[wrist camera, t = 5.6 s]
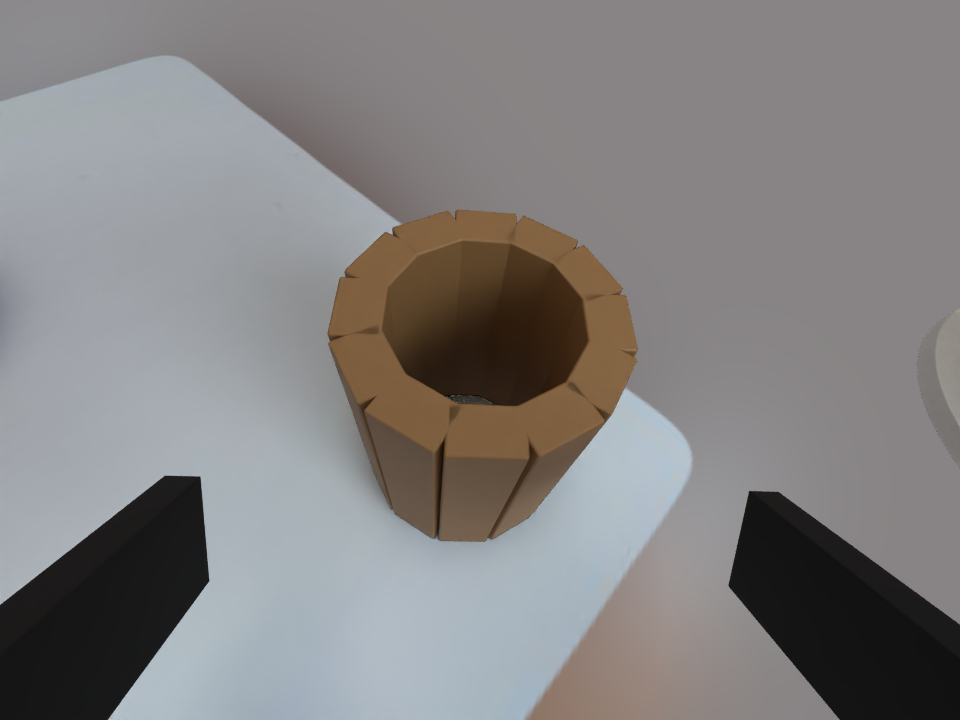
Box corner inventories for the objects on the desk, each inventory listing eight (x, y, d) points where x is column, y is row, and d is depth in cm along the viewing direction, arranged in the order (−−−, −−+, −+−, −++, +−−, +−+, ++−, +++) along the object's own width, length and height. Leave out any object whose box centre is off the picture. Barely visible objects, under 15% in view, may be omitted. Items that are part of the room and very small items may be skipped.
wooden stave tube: (579, 422, 26) (673, 283, 16) (498, 582, 21) (558, 529, 11) (438, 345, 28) (441, 177, 18) (336, 475, 23) (259, 348, 13)
